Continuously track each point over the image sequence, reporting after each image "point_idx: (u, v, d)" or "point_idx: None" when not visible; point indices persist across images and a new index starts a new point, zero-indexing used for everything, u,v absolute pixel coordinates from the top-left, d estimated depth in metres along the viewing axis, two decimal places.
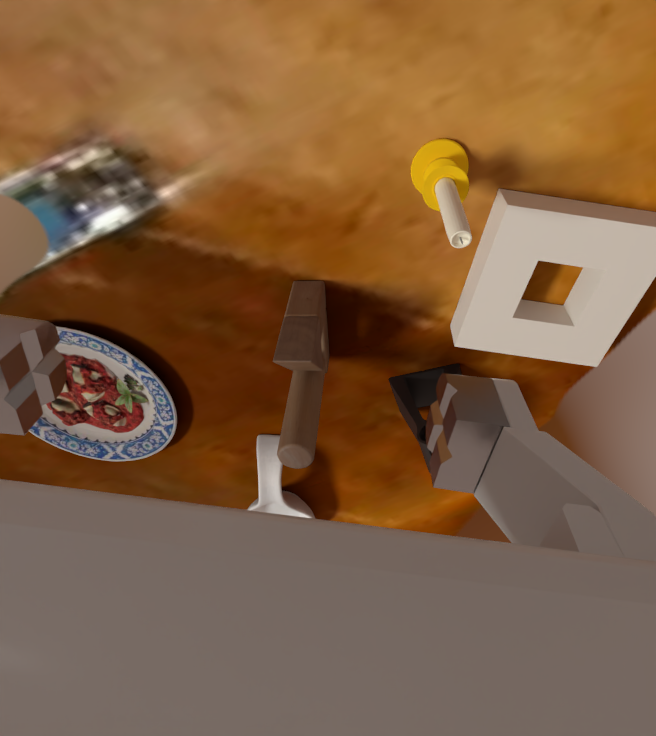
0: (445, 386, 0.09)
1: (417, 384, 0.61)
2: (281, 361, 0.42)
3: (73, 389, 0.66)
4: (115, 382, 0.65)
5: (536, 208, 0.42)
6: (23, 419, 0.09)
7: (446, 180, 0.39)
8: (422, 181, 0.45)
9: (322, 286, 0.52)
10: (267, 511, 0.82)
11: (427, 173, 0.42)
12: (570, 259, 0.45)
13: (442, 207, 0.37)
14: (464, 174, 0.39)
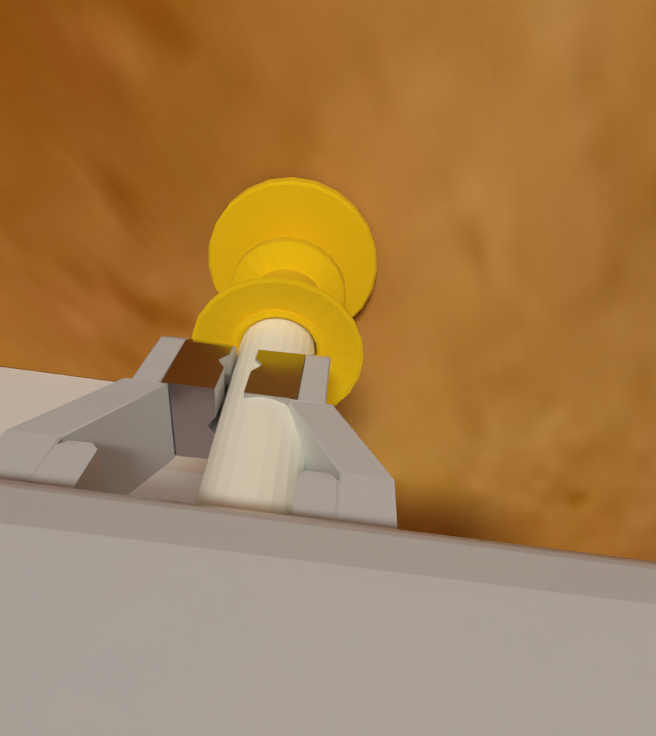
0: None
1: None
2: None
3: None
4: None
5: None
6: None
7: None
8: (253, 224, 0.14)
9: None
10: None
11: (296, 253, 0.12)
12: None
13: (258, 497, 0.07)
14: (332, 403, 0.12)
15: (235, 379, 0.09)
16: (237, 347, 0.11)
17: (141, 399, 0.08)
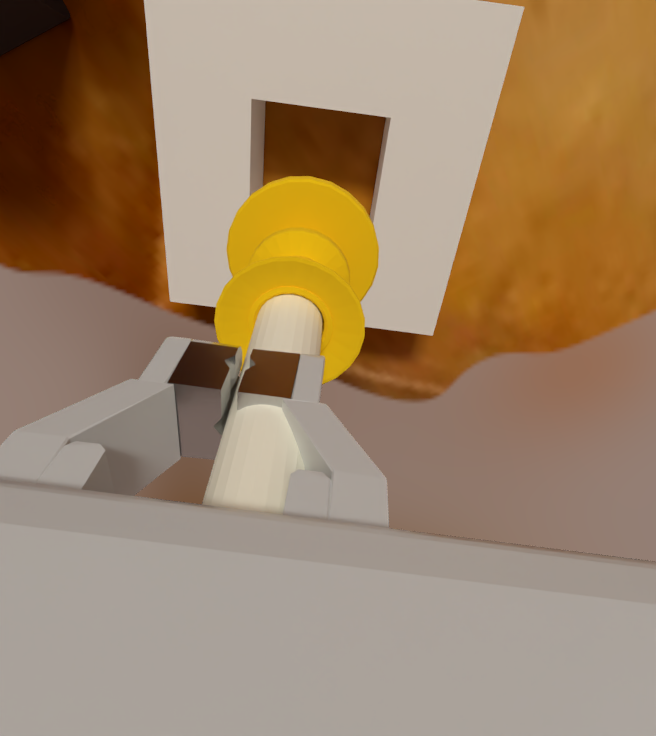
0: None
1: None
2: None
3: None
4: None
5: (503, 79, 0.21)
6: None
7: None
8: (283, 209, 0.15)
9: None
10: None
11: (321, 247, 0.14)
12: (392, 182, 0.24)
13: (290, 430, 0.08)
14: None
15: (264, 335, 0.10)
16: (257, 310, 0.12)
17: (148, 400, 0.08)
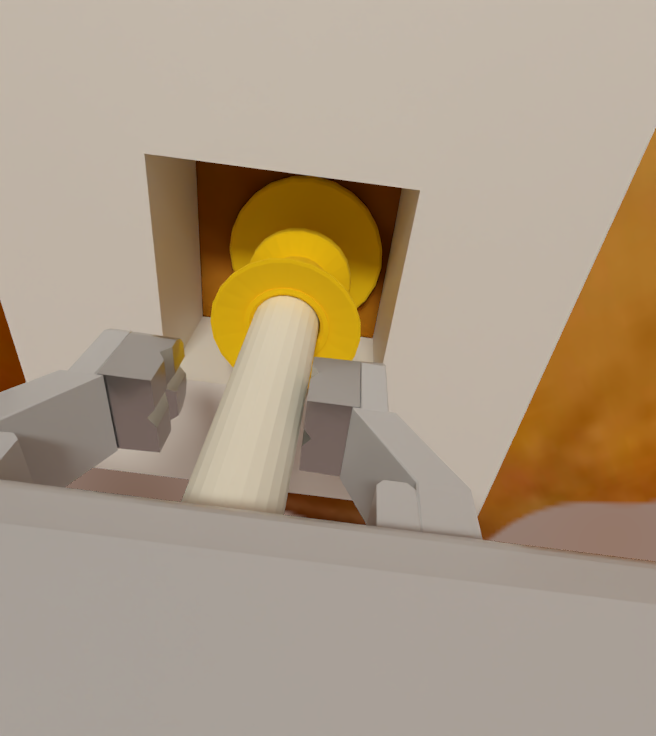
0: None
1: None
2: None
3: None
4: None
5: None
6: (160, 436, 0.09)
7: (315, 345, 0.12)
8: (286, 208, 0.15)
9: None
10: None
11: (321, 248, 0.14)
12: (419, 300, 0.13)
13: (272, 434, 0.08)
14: None
15: (255, 337, 0.10)
16: (253, 311, 0.12)
17: (73, 390, 0.08)
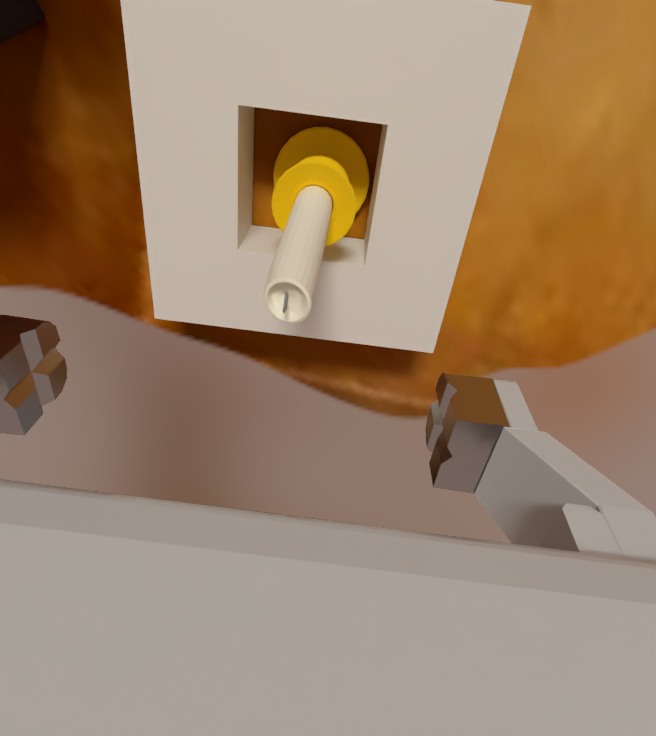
0: (445, 386, 0.09)
1: None
2: None
3: None
4: None
5: (508, 83, 0.20)
6: (23, 419, 0.09)
7: None
8: (310, 147, 0.25)
9: None
10: None
11: (332, 166, 0.23)
12: (389, 193, 0.23)
13: (316, 224, 0.18)
14: (329, 242, 0.23)
15: (301, 199, 0.20)
16: (295, 195, 0.22)
17: None
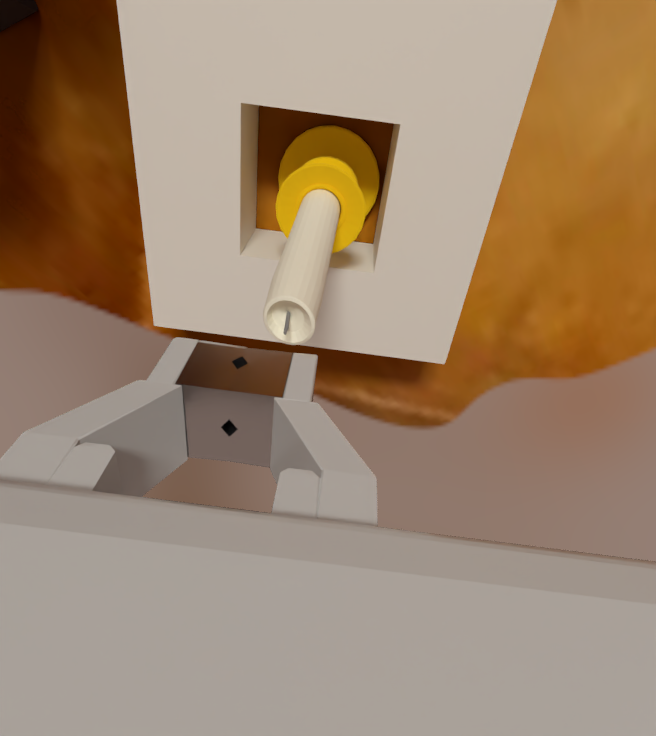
0: (242, 360, 0.09)
1: None
2: None
3: None
4: None
5: (531, 80, 0.18)
6: None
7: None
8: (317, 147, 0.23)
9: None
10: None
11: (340, 168, 0.22)
12: (401, 196, 0.21)
13: (322, 233, 0.16)
14: (336, 249, 0.21)
15: (306, 204, 0.19)
16: (301, 199, 0.20)
17: (156, 401, 0.08)
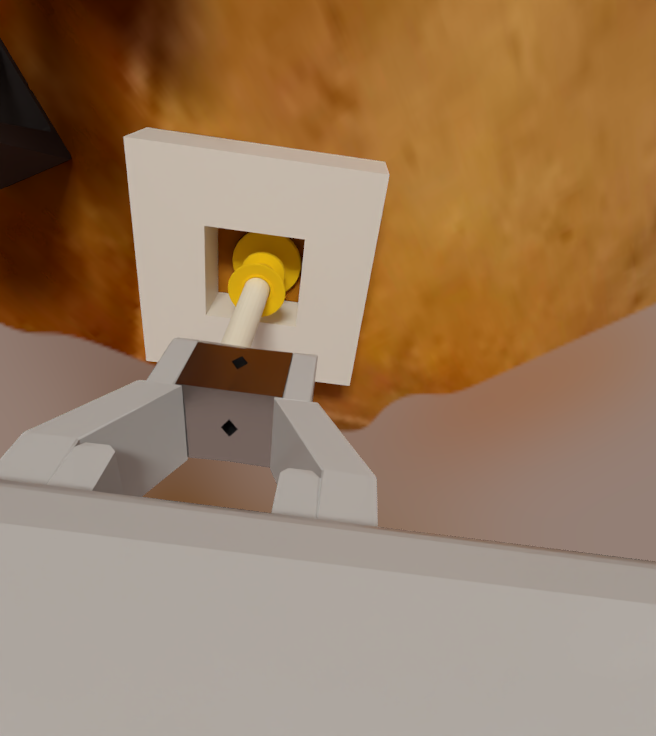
0: (242, 360, 0.09)
1: None
2: None
3: None
4: None
5: (381, 216, 0.30)
6: None
7: (267, 296, 0.32)
8: (257, 242, 0.35)
9: None
10: None
11: (271, 260, 0.34)
12: (309, 280, 0.33)
13: (251, 314, 0.28)
14: (268, 314, 0.33)
15: (245, 290, 0.30)
16: (244, 283, 0.32)
17: (155, 400, 0.08)
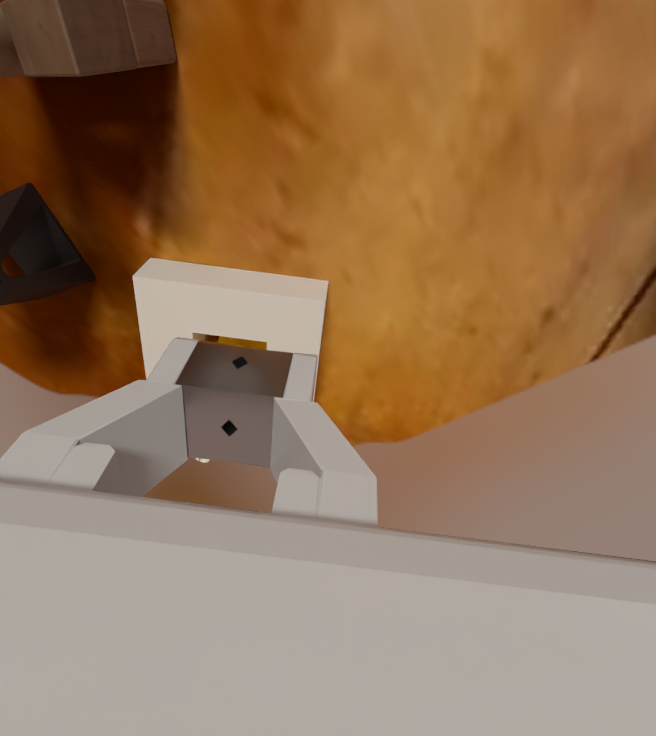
0: (242, 360, 0.09)
1: (38, 228, 0.41)
2: (56, 2, 0.21)
3: None
4: None
5: (322, 327, 0.41)
6: None
7: None
8: None
9: (170, 61, 0.33)
10: None
11: None
12: None
13: None
14: None
15: None
16: None
17: (155, 401, 0.08)
